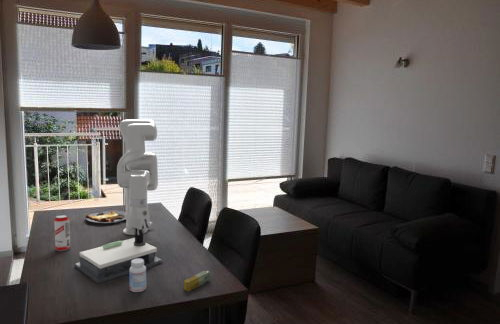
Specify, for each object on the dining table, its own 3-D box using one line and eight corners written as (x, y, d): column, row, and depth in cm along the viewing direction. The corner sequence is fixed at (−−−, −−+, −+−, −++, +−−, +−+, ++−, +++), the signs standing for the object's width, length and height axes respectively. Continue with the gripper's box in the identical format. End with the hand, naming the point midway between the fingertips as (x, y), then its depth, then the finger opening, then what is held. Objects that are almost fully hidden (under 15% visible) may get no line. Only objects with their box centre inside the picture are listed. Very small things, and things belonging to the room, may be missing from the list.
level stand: (136, 249, 192) (136, 240, 191) (161, 262, 178) (161, 252, 177) (75, 266, 171) (74, 256, 171) (98, 283, 157) (98, 271, 156)
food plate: (97, 228, 221) (97, 222, 221) (78, 219, 237) (78, 213, 236) (137, 220, 240) (137, 214, 239) (117, 212, 255) (117, 207, 255)
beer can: (64, 252, 187) (63, 218, 184) (52, 250, 188) (50, 217, 186) (73, 247, 193) (71, 214, 191) (61, 246, 194) (59, 213, 192)
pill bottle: (131, 285, 156) (130, 257, 154) (147, 285, 157) (147, 257, 155) (128, 292, 150) (127, 264, 148) (144, 292, 151) (144, 263, 149)
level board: (135, 240, 189) (134, 233, 189) (157, 251, 177) (156, 243, 176) (79, 255, 171) (79, 248, 170) (99, 268, 158) (99, 260, 158)
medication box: (204, 279, 164) (204, 269, 163) (210, 281, 162) (209, 271, 161) (183, 290, 154) (183, 280, 153) (188, 292, 152) (188, 282, 152)
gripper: (155, 203, 175) (155, 244, 178) (136, 197, 185) (137, 236, 188) (140, 206, 170) (140, 249, 172) (121, 200, 180) (122, 240, 182)
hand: (139, 242), depth 180 cm, fingers closed
